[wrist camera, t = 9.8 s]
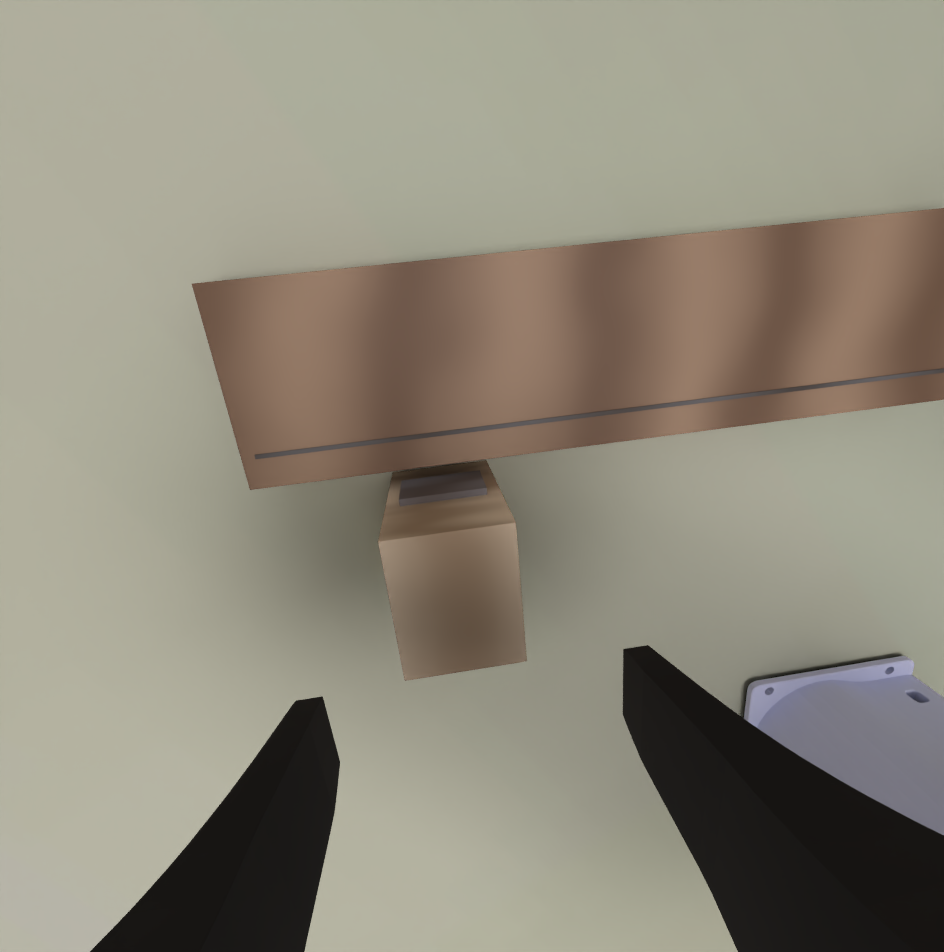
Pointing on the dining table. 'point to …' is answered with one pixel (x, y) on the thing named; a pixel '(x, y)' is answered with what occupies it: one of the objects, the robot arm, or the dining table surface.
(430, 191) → the dining table surface
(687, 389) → the board
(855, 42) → the dining table surface
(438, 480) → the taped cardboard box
